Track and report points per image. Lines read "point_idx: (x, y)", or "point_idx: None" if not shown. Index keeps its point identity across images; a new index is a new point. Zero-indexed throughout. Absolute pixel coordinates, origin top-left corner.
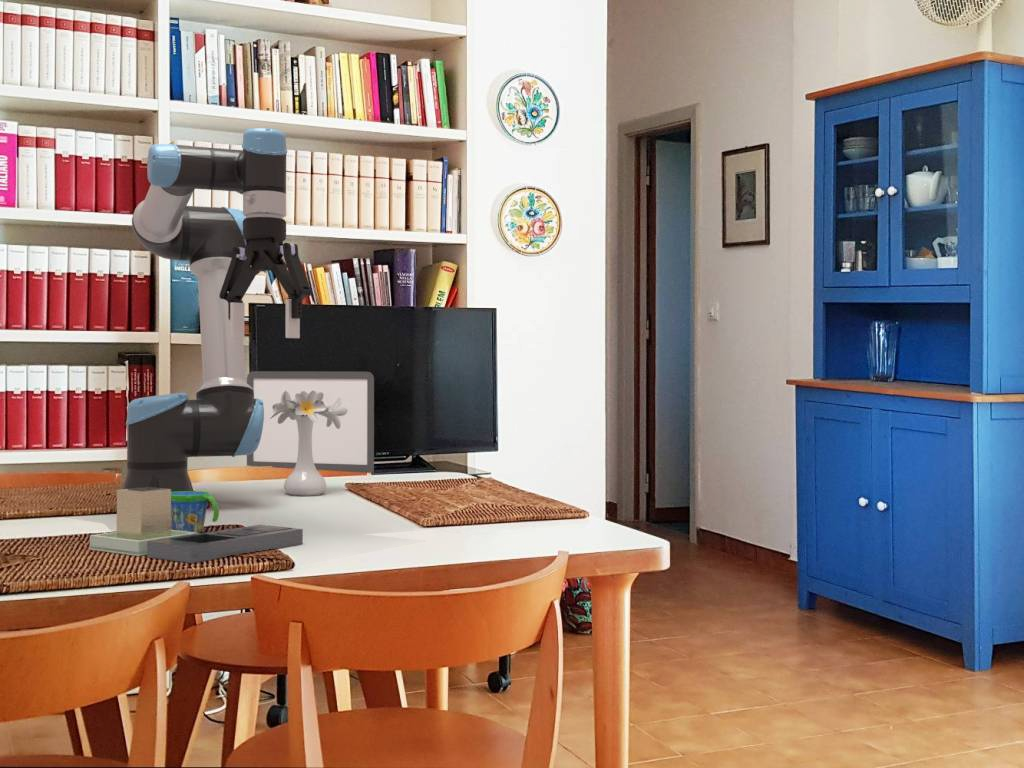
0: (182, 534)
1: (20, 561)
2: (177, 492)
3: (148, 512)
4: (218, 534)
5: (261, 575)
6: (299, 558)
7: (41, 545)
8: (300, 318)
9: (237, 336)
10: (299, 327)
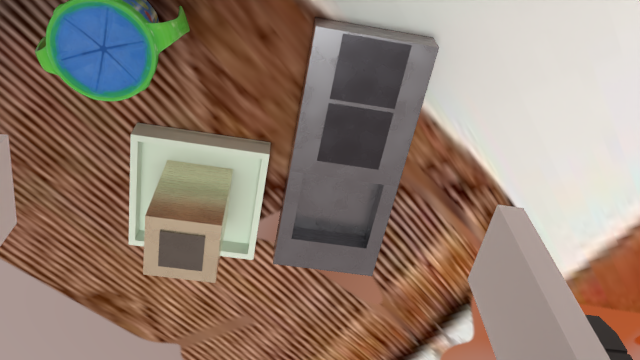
0: (259, 180)
1: (143, 327)
2: (55, 37)
3: (221, 244)
4: (328, 168)
5: None
6: (502, 169)
7: (23, 228)
8: (593, 318)
9: (6, 200)
10: (546, 252)
